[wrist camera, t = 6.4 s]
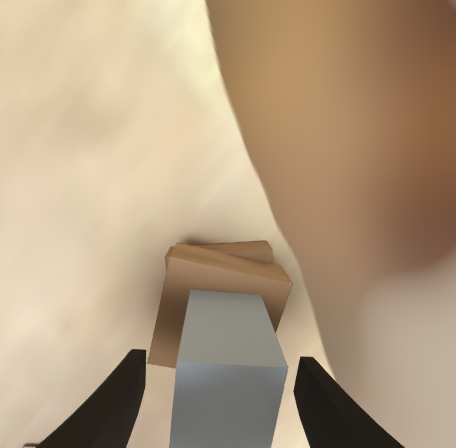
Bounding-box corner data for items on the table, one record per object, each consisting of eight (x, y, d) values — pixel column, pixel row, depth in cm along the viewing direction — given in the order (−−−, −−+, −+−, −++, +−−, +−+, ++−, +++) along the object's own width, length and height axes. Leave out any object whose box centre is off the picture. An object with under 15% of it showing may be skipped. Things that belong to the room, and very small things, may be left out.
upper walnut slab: (252, 352, 17) (258, 382, 15) (157, 334, 16) (147, 363, 14) (280, 265, 16) (292, 283, 13) (177, 242, 15) (170, 256, 13)
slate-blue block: (250, 353, 14) (270, 450, 9) (184, 350, 14) (169, 448, 9) (260, 294, 13) (288, 367, 8) (190, 289, 13) (176, 361, 8)
